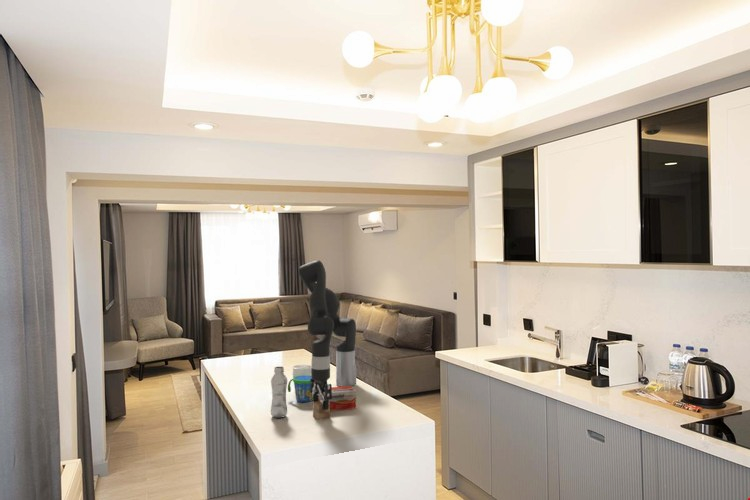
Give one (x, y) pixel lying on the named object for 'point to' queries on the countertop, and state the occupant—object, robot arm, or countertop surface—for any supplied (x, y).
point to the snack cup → (302, 388)
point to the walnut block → (320, 410)
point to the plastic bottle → (279, 393)
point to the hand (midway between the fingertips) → (320, 407)
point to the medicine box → (342, 398)
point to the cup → (301, 370)
